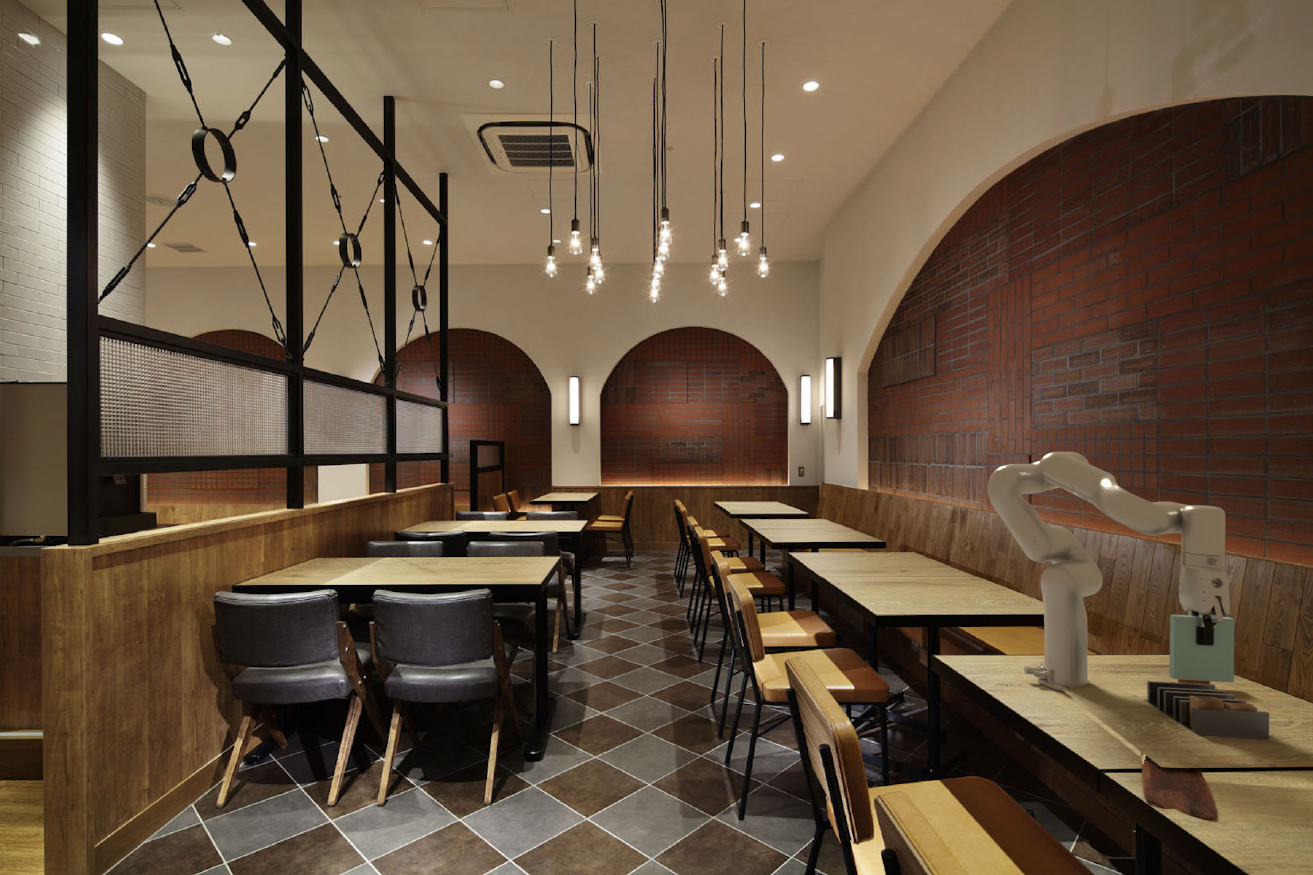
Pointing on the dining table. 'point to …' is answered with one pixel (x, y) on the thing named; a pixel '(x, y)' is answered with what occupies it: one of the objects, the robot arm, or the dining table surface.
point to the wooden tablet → (1177, 790)
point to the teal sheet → (1201, 651)
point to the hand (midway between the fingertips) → (1201, 642)
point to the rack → (1207, 711)
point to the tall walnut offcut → (1204, 703)
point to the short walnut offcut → (1238, 706)
